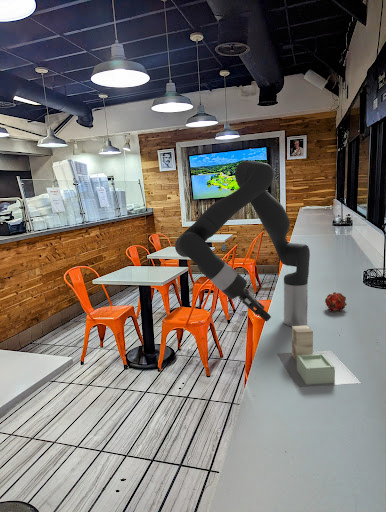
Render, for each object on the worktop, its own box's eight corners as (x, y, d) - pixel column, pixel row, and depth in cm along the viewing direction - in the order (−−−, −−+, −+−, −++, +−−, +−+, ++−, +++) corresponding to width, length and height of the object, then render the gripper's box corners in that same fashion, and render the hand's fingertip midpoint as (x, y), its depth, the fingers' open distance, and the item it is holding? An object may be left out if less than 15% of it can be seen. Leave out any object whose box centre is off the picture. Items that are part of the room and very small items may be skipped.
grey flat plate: (277, 356, 114) (277, 353, 114) (330, 352, 114) (330, 350, 114) (296, 390, 94) (296, 387, 94) (361, 386, 94) (361, 383, 94)
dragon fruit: (341, 309, 158) (333, 321, 149) (325, 297, 161) (317, 308, 152) (352, 297, 153) (345, 308, 144) (336, 285, 156) (328, 295, 147)
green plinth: (296, 369, 103) (296, 355, 102) (323, 368, 103) (323, 353, 102) (306, 384, 95) (306, 368, 94) (334, 382, 95) (335, 366, 94)
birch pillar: (291, 354, 112) (291, 326, 110) (306, 353, 112) (307, 325, 110) (296, 362, 107) (297, 332, 105) (312, 361, 107) (313, 331, 106)
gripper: (240, 277, 97) (280, 313, 99) (233, 266, 111) (268, 298, 113) (222, 296, 98) (262, 331, 100) (217, 283, 112) (252, 314, 114)
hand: (265, 314), depth 107 cm, fingers open, 8 cm apart
